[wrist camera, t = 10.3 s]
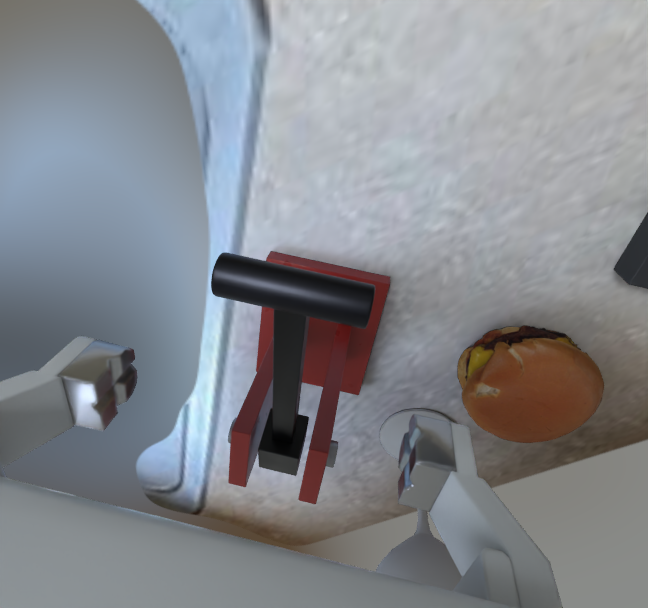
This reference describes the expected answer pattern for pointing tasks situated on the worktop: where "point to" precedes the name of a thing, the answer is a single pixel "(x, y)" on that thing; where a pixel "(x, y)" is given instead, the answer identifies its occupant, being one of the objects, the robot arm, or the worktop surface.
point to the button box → (636, 258)
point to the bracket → (308, 378)
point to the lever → (290, 336)
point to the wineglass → (421, 549)
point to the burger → (529, 384)
